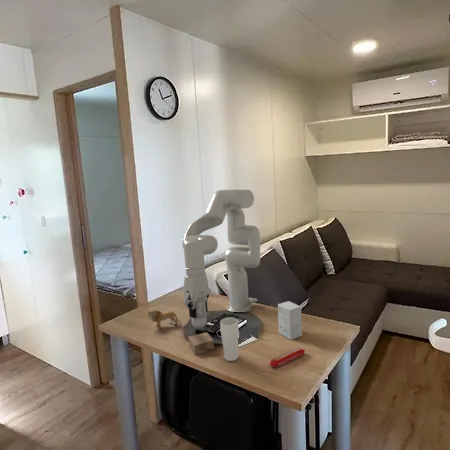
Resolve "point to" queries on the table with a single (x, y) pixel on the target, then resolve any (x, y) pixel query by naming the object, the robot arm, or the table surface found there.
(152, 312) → the lion figurine
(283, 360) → the candy bar
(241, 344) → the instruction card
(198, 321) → the energy drink can
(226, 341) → the drinking glass
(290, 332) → the small box
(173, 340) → the table surface
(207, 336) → the walnut brick
